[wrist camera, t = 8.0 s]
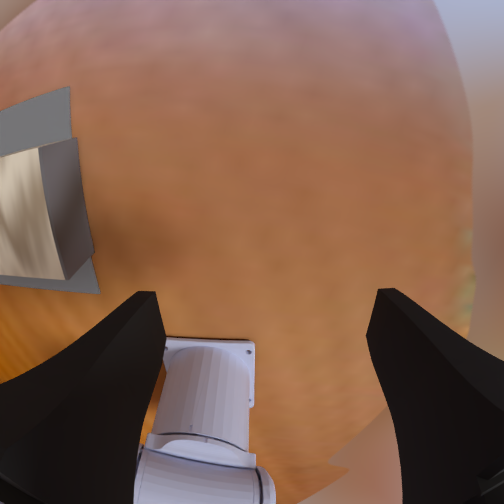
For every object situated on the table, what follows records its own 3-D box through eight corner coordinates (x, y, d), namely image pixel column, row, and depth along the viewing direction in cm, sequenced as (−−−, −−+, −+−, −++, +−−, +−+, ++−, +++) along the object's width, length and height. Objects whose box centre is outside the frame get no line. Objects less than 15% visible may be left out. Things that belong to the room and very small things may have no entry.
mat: (100, 292, 22) (99, 293, 22) (-3, 282, 22) (-4, 283, 22) (69, 86, 15) (68, 86, 14) (-36, 129, 15) (-37, 129, 14)
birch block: (68, 280, 16) (-10, 273, 16) (94, 252, 20) (17, 251, 20) (41, 146, 12) (-36, 170, 13) (76, 137, 16) (-3, 157, 16)
